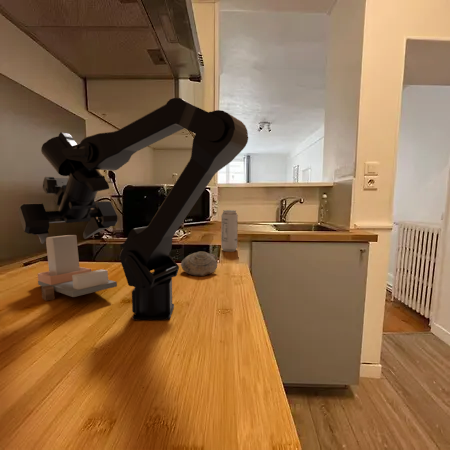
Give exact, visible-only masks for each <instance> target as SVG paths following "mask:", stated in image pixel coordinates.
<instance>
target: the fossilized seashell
mask: <svg viewBox="0 0 450 450" xmlns="http://www.w3.org/2000/svg"><path fill="white" fill-rule="evenodd" d="M215 258H216V255H215V254H212V253H209V252H206V251H197V252H193V253H191V254H189V255H187V256H185V257H184V258H183V259H182V261H181V262H180V263H181V264H180V266H181V269H182V270H183V271H184V273H187V274H189V275H191V276H196V277H197V276H199V277H204V276H207V275H210V274H212V273H214V272H215V271H216V270H217V267H218V263H217V260H216V259H215Z"/></svg>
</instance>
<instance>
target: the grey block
mask: <svg viewBox="0 0 450 450" xmlns="http://www.w3.org/2000/svg"><path fill="white" fill-rule="evenodd" d="M45 242H46V243H45V244H46V245H45V247H46V253H47V263H48V265H47V266H48V271H49V275H50V276H55V275H60V274H66V273H71V272H76V271H80V267H81V266H80V261H79V260H80V259H79V250H78V239H77V235H76V234H67V235H57V236H47V238H46V240H45Z"/></svg>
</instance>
